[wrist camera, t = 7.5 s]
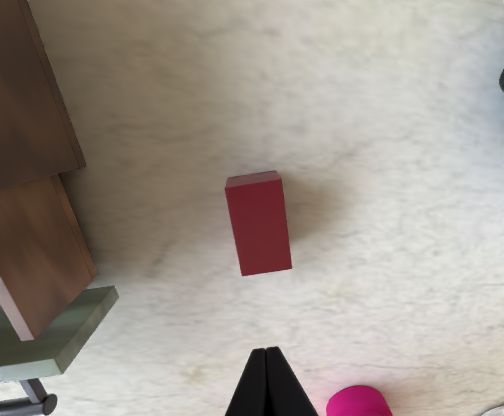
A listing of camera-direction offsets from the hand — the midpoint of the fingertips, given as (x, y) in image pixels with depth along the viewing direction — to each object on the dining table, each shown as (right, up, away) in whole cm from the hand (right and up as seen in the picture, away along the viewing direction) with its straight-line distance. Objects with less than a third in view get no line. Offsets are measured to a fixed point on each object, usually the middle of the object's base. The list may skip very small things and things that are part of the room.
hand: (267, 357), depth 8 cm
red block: (0, +4, +12) cm, 13 cm away
